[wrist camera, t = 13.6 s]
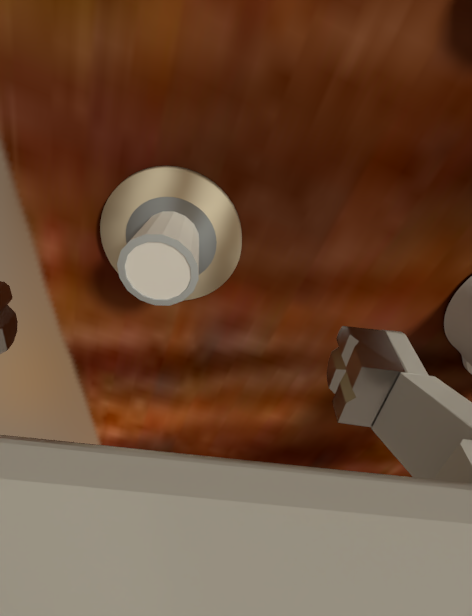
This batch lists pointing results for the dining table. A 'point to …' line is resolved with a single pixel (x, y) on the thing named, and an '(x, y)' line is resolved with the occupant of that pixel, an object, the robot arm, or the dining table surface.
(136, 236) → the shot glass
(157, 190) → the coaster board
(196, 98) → the dining table surface
